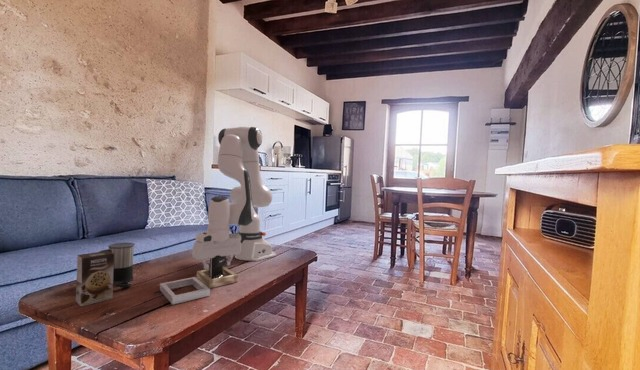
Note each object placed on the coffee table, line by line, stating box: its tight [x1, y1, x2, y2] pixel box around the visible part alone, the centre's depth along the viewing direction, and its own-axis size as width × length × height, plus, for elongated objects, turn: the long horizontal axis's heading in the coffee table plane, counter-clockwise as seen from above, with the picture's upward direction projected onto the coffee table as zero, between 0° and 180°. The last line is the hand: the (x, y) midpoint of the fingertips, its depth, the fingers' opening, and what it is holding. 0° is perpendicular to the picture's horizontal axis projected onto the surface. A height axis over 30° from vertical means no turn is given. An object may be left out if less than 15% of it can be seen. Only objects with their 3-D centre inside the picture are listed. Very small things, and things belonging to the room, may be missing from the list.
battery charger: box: [209, 255, 227, 279], centre depth 126 cm, size 7×4×11 cm, turn 161°
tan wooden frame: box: [196, 266, 239, 289], centre depth 125 cm, size 12×14×3 cm
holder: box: [159, 276, 211, 306], centre depth 111 cm, size 13×16×2 cm
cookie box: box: [75, 250, 114, 307], centre depth 101 cm, size 9×6×16 cm
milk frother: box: [98, 241, 136, 289], centre depth 117 cm, size 14×16×15 cm
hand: (217, 266), depth 125 cm, fingers open, 8 cm apart
